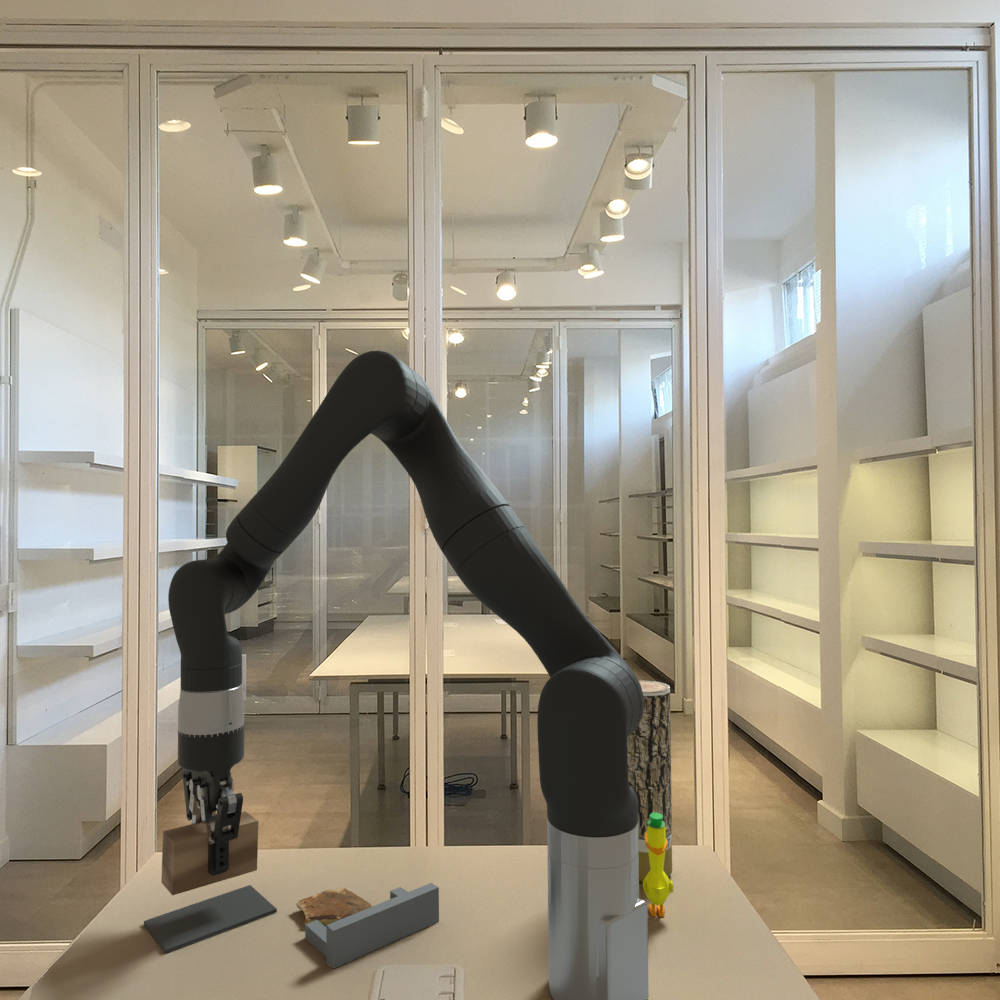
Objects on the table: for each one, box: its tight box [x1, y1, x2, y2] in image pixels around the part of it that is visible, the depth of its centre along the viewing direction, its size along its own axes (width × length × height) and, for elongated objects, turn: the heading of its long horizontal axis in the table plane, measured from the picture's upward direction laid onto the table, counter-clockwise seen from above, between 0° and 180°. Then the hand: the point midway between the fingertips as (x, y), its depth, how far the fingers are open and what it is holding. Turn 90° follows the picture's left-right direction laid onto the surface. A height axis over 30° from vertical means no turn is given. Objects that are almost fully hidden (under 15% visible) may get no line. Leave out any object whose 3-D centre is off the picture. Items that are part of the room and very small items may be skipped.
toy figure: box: [642, 812, 674, 918], centre depth 91 cm, size 7×4×12 cm, turn 175°
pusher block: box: [160, 810, 259, 896], centre depth 91 cm, size 4×10×6 cm, turn 131°
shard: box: [295, 887, 374, 927], centre depth 90 cm, size 11×8×2 cm
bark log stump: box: [627, 680, 673, 883], centre depth 101 cm, size 7×7×25 cm
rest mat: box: [143, 884, 278, 954], centre depth 90 cm, size 8×13×1 cm, turn 131°
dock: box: [304, 882, 440, 969], centre depth 88 cm, size 8×14×4 cm, turn 131°
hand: (211, 865), depth 91 cm, fingers closed on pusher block, 4 cm apart
